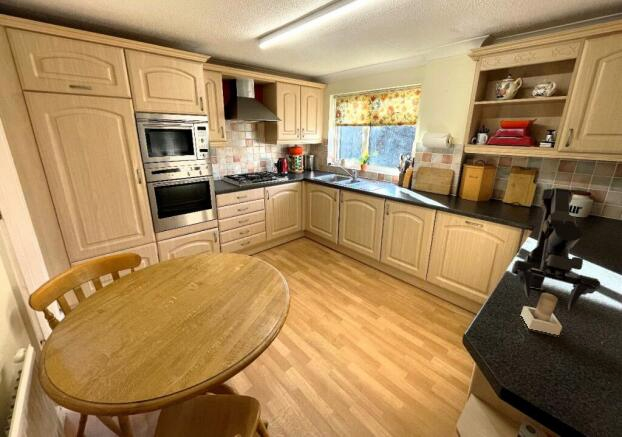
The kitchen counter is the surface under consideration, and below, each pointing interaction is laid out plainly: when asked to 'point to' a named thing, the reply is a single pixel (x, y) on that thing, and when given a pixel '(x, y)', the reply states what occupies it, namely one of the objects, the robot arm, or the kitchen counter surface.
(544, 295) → the wick dowel
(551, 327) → the cream square tray
